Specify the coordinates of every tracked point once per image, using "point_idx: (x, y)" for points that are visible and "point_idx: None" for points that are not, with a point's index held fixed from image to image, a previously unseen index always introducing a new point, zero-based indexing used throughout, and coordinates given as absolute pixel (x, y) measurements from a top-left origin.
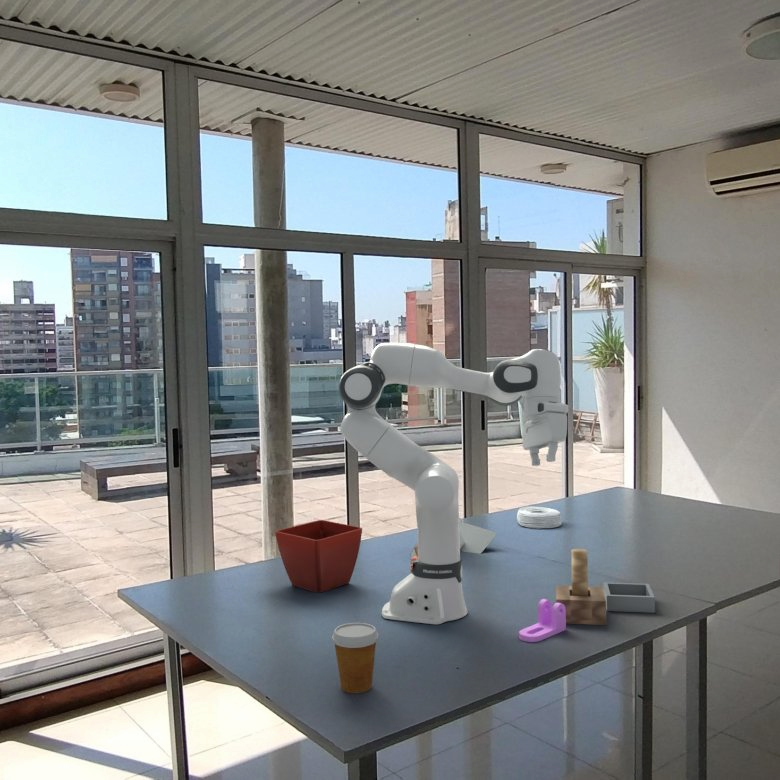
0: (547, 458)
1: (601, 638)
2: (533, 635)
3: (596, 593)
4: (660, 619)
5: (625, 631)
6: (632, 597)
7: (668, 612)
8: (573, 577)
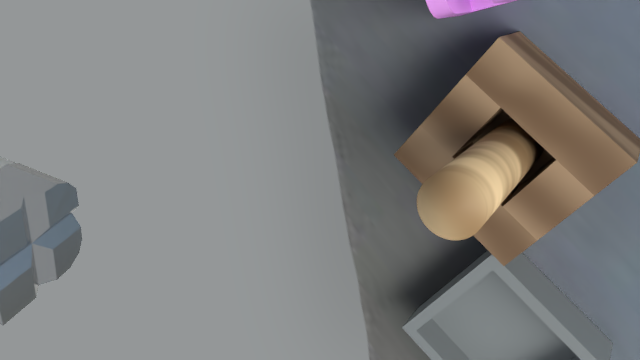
0: (5, 181)
1: (360, 52)
2: None
3: None
4: (379, 272)
5: (365, 140)
6: (441, 295)
7: (402, 329)
8: (488, 145)
